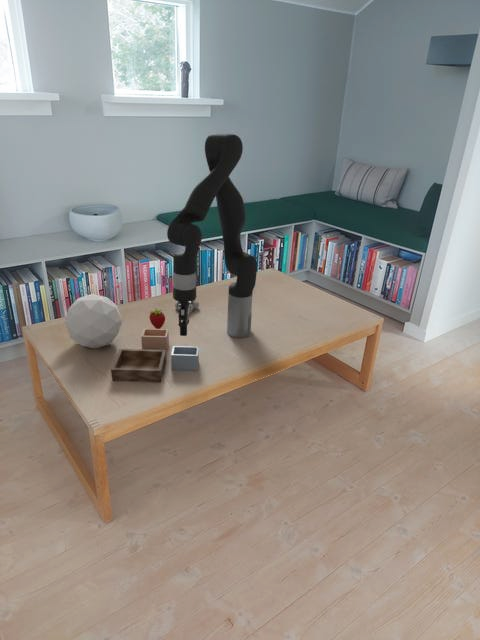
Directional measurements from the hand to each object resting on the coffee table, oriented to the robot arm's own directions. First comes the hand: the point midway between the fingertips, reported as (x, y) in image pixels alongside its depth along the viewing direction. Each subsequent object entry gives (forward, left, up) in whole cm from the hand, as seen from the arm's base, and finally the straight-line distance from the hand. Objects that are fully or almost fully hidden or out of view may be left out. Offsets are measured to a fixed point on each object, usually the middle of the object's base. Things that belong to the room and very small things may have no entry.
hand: (184, 329), depth 156 cm
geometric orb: (+34, -13, -15) cm, 39 cm away
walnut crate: (+15, +4, -14) cm, 21 cm away
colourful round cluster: (+3, -45, -15) cm, 47 cm away
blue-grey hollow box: (0, 0, -14) cm, 14 cm away
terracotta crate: (+12, -12, -14) cm, 22 cm away
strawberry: (+13, -25, -15) cm, 32 cm away
